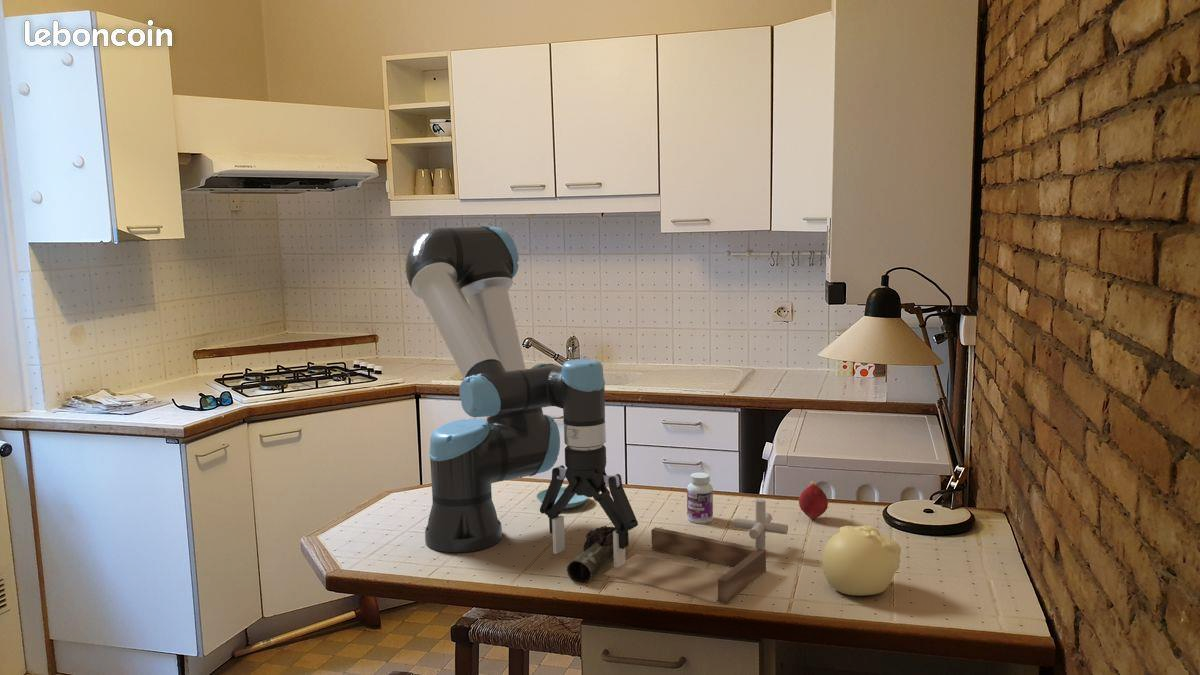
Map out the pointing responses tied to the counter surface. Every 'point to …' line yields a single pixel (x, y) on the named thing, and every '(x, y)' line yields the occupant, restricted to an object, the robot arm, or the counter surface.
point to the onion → (813, 501)
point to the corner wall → (715, 558)
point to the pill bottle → (700, 498)
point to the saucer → (572, 503)
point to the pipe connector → (760, 524)
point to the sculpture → (860, 560)
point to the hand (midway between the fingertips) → (588, 557)
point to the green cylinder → (592, 555)
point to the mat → (669, 576)
